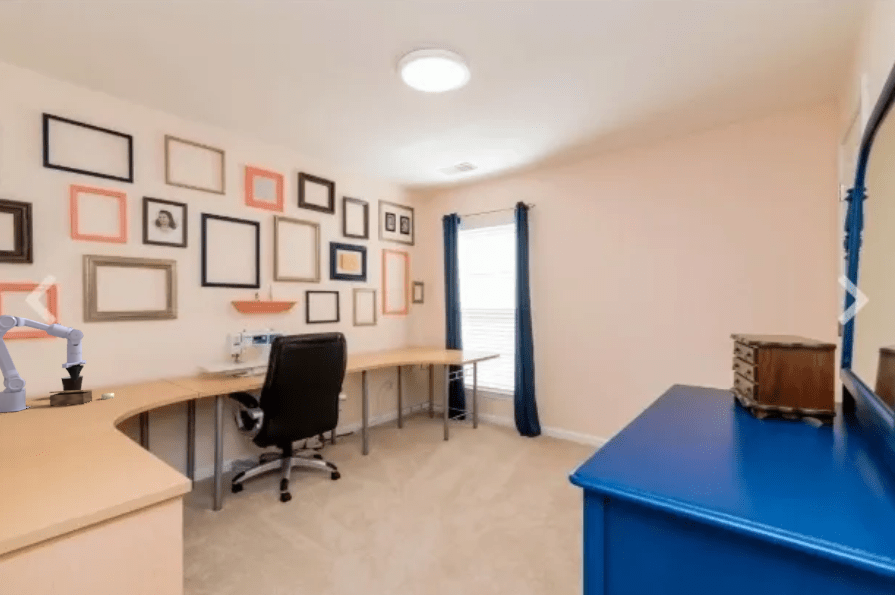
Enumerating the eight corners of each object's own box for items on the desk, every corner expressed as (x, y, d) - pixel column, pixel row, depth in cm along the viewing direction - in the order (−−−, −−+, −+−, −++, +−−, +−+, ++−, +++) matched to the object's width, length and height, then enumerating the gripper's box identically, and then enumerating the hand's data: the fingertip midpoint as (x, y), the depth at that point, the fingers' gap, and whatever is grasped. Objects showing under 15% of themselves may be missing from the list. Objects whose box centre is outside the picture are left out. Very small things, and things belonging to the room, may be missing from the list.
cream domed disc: (98, 400, 215) (98, 395, 215) (105, 397, 220) (105, 393, 220) (110, 399, 215) (110, 394, 215) (116, 397, 221) (116, 392, 221)
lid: (49, 393, 202) (49, 391, 202) (59, 392, 209) (59, 391, 209) (83, 391, 205) (83, 390, 205) (92, 390, 211) (92, 389, 211)
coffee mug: (65, 395, 228) (65, 376, 228) (85, 393, 231) (85, 374, 231) (56, 399, 217) (56, 379, 217) (77, 397, 221) (77, 378, 221)
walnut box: (50, 406, 202) (50, 395, 202) (59, 402, 209) (59, 392, 209) (83, 404, 205) (83, 393, 205) (92, 401, 211) (91, 391, 211)
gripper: (73, 354, 206) (73, 382, 206) (92, 351, 220) (93, 377, 220) (57, 355, 205) (57, 383, 205) (77, 351, 219) (77, 378, 219)
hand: (74, 380), depth 212 cm, fingers closed
